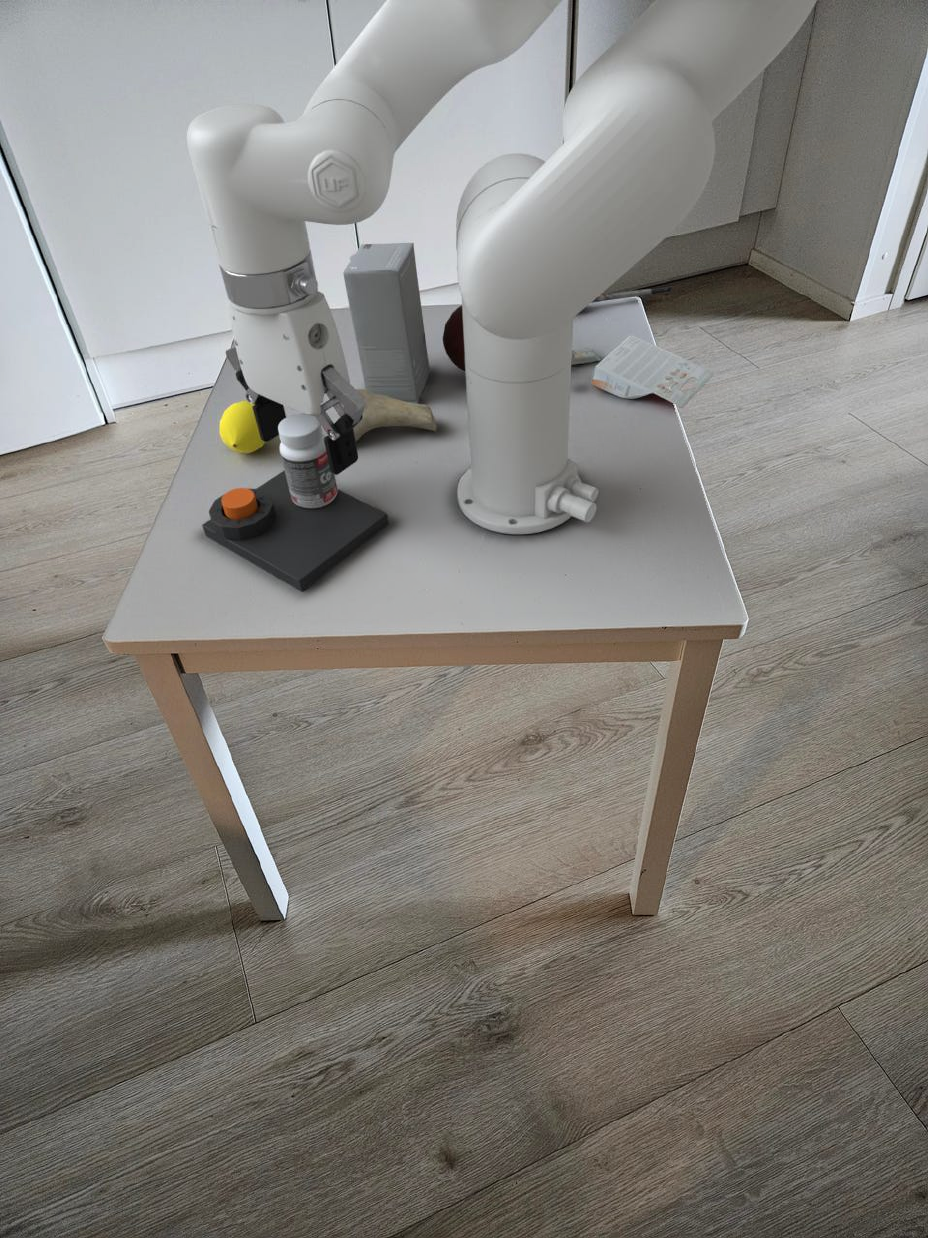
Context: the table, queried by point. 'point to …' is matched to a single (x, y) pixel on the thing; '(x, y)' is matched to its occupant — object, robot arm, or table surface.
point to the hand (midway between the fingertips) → (309, 450)
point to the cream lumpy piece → (392, 414)
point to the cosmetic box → (388, 320)
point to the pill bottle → (306, 461)
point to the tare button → (239, 503)
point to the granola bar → (583, 356)
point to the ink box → (648, 372)
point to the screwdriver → (631, 294)
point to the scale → (295, 532)
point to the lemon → (240, 428)
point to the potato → (455, 339)
